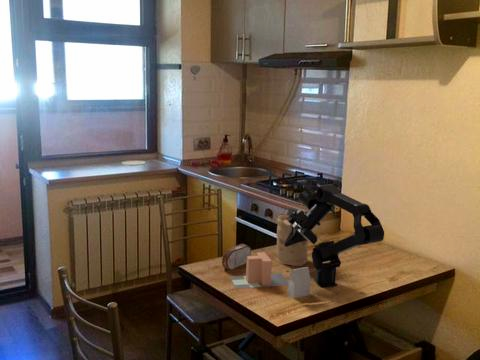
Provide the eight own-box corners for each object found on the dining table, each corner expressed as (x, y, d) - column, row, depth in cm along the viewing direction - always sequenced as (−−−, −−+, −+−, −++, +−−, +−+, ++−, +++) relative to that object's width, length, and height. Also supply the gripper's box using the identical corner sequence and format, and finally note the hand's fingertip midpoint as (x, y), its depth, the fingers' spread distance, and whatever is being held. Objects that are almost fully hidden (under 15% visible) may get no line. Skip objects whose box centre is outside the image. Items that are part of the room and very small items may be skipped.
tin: (245, 261, 206) (246, 241, 205) (252, 263, 204) (252, 242, 203) (221, 271, 195) (221, 250, 193) (227, 273, 193) (227, 252, 191)
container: (308, 267, 201) (310, 223, 197) (276, 266, 201) (278, 222, 197) (305, 256, 213) (307, 214, 209) (275, 255, 213) (277, 213, 210)
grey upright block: (309, 296, 175) (311, 268, 173) (293, 300, 172) (294, 271, 170) (303, 292, 178) (305, 265, 176) (287, 295, 175) (288, 268, 173)
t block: (263, 275, 191) (264, 252, 189) (270, 284, 182) (271, 260, 180) (243, 276, 189) (244, 253, 187) (250, 286, 180) (251, 262, 178)
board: (280, 274, 193) (281, 273, 193) (290, 286, 183) (290, 284, 183) (229, 278, 188) (229, 276, 188) (236, 290, 178) (236, 288, 178)
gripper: (292, 194, 192) (263, 223, 191) (311, 206, 174) (278, 239, 174) (311, 213, 195) (282, 242, 195) (331, 228, 178) (299, 260, 177)
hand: (284, 245), depth 185 cm, fingers closed
